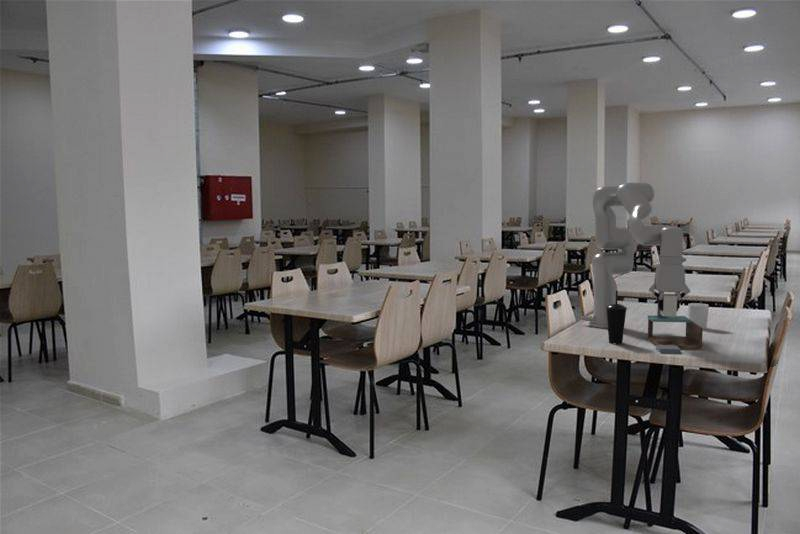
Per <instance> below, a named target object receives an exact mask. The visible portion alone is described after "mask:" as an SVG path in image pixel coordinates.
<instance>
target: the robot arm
mask: <svg viewBox="0 0 800 534" xmlns="http://www.w3.org/2000/svg"><path fill="white" fill-rule="evenodd" d="M654 198H655V190H654V188H653V186H651V184H649V183H647V182H626V183H623V184H621V185H606V186H605V185H604V186H601V187H598V188H597V189H595V191H594V192H593V196H592V203H591V204H592V209H593V212H594V219H595V220H594V221H595V223H594V225H595V226H594V228H595V233H594V234H595V235H594V236H595V239H594V240H595V245H596V247H597V248H598V249H600V250H617V251H616V252H613V251H612V252H601V253H597V254H596V255H595V254H594V256H593V258H592V260H591V269H592V273H593V307H592V308H593V310H592V311H593V313H592V314H591V315H588V316H587V315H582V316H581V320H582V321H583V322H589V323H588V324H589V327H594V328H600V329H608V322H607V309H606V306H609V305H611V304H616V290H618V285H617V282H616V280H615V278H614V275H628V274H631V272H632V271H633V268H634V264H635V263H634V262H635V259H634V258H635V257H634V256H635V255H634V250H635V248H634V246H635V245H634V244H635V241H636V242H637V243H638V244H639V245H641V246H644V247H645V246H646V247H647V246H648V247H650V246H653V247H654V246H660V247H659V263H657V264H656V268H655V272H654V280H653V284H652V285H651V287H649V288H648V291H649V292H650V293H651V294H653V295H654V296H655V297H656V298H657V299H658V300H657V309H658V308H659V309H660V310H661V311H663V295H664V294H665V293H674V295H676V296H677V312H679V309H680V305H681V301H682V299H683V298H684V297H685V296H687V295H688V294H689V293H691V290H690V288H689V286H688V285H687V284H686V273H685V267H684V264H683V263H684V262H687V258H686V257H683V248H684V247H683V245H684V230H683V228H682V227H680V226H670V225H663V224H662V225H661V224H659V225H657V224H654V225H651V224H650V225H646V224H644V223H643V220H645V219H646V218H648V217H649V216H650V214H651V212H652V211H653V206H652V204H651V202H652V201H653V200H654ZM611 207H624V209H625V210H626V211H627V213H628V214H629V215H630V216H629V219H628V227H625V226H617V216H616V214H615V212H614V210H613V209H612V208H611ZM655 290H656V291H655Z"/></svg>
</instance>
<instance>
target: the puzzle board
mask: <svg viewBox="0 0 800 534" xmlns="http://www.w3.org/2000/svg"><path fill="white" fill-rule="evenodd" d="M647 320H648V321H647V340H648V339H649V340H650V341H649V340H648V341H649V342H650V343H652V344H653V345H654V346H655V347H656V345H669V344H676V345H670V346H677V347H679V348H680V349H681V350H689V349H701V350H700V351H702V350H703V332H704V329H703V328H702V327H701V326H699V325H697V324H696V323H694V322H693V321H691V323H690V322H685V336H673V335H672V336H671V335H667V336H666V335H654V334H653V332H654V322H652V321H651V320H650V319H648V318H647Z"/></svg>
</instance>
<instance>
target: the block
mask: <svg viewBox="0 0 800 534" xmlns="http://www.w3.org/2000/svg"><path fill="white" fill-rule="evenodd" d="M677 312H678V311H677V296H676V295H675V293H673V294H672V293H671V294H670V293H664V295H663V311H661V315H662V316H673V317H676V316H677Z"/></svg>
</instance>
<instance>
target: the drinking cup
mask: <svg viewBox="0 0 800 534" xmlns="http://www.w3.org/2000/svg"><path fill="white" fill-rule="evenodd" d="M618 295H619V291H618V289H617V290H616V304H611V305H609V306H606V309H607V322H608V328H607V331H608V332H607V333H608V343H609V344H612V343H616V344H615V345H621V344H620V343H622V344H623V339H624V330H625V324H626V323H625V322H626V315H627V314H626V313H627V310H628V307H627V306H625V305H623V304H620V303H618V298H619V297H618Z"/></svg>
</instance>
